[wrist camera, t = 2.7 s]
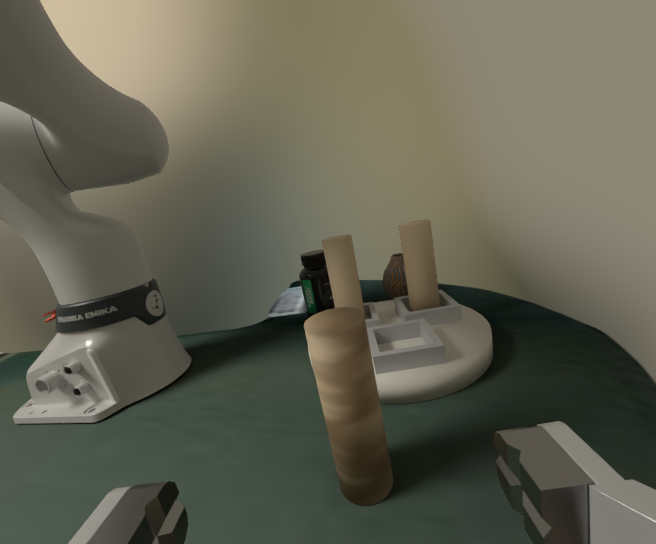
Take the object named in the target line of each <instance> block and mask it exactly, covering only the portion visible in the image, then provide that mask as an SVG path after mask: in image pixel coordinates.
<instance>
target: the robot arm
mask: <svg viewBox="0 0 656 544" xmlns="http://www.w3.org/2000/svg"><path fill="white" fill-rule="evenodd" d="M168 149H169V148H168V140H167V136H166V133H165V131H164V128H163V126H162V125H161V123H160V121H159V120H158V119H157V117H156V116H155V115H154V114H153V112H151V111H150V109H149V108H147V107H146V106H145V105H143V104H142V103H141V102H139V101H138V100H136V99H133V98H130V97H129V96H126V95H124V94H122V93H120V92H119V91H117V90H115V89H113V88H112V87H110V86H108V85H107V84H106V83H104V82H103V81H102V80H100V79H99V78H98V77H96V76H95V75H94V74H93V73H92V72H91V71H89V70H88V69H87V68H86V67H85V66H84V65H83V64H82V63H81V62H80V61H79V60H78V59H77V58H76V57H75V56H74V55H73V53H72V52H71V51H70V50H69V49H68V47H67V46H66V45H65V43H64V42H63V40H62V39H61V37H60V36H59V34H58V32H57V31H56V29H55V27H54V26H53V24H52V22H51V20H50V19H49V17H48V15H47V13H46V11H45V10H44V8H43V6H42V4H41V2H40V0H0V219H1V220H3V221H4V222H6V223H7V224H8V225H9V226H11V227H12V228H13V229H14V230H15V231H17V232H18V233H19V234H20V235H21V236H22V237H23V238H24V239H25V241H26V242H27V243H28V244H29V245H30V247H31V248H32V250H33V251H34V253H35V254H36V256H37V258H38V260H39V261H40V264H41V265H42V267H43V269H44V271H45V273H46V275H47V277H48V279H49V281H50V284H51V286H52V288H53V290H54V293H55V295H56V297H57V300H58V302H59V304H58V305H57V307H56V310H53V311H51V312H48V313H46V314H43V315H42V316H47V315H50V314H52V315H53V316H52V317H50V318H48V319H47V320H45V322H49V321H51V320H54V319H56V332H58V333H57V335H56V336H55V337H54V338H53V340H52V341H51V342H50V343H49V345H48V346H47V347H46V349H45V350H44V351H43V352H42V354H41V355H40V356H39V357H38V358H37V360H36V361H35V362H34V363H33V364H32V365H31V367H30V368H29V370H28V372H27V384H28V388H29V391H30V394H31V396H32V399H31V400H29V401H28V402H27V403H26V404H24V405H23V406H22V407H21V408H20V409H19V410H18V411H17V412H16V413H15V415H14V416H13V419H14V423H16V424H31V423H93V422H97V421H100V420H102V419H104V418H106V417H108V416H110V415H111V414H113V413H115V412H116V411H118V410H120V409H121V408H123V407H125V406H127V405H129V404H131V403H133V402H135V401H138V400H140V399H142V398H145V397H147V396H149V395H151V394H153V393H155V392H157V391H158V390H160V389H162V388H164V387H165V386H167V385H168V384H170V383H171V382H173V381H174V380H176V379H177V378H178V377H179V376H181V375H182V374H183V373H184V372H185V371H186V370H187V368H188V367H189V366H190V364H191V357H190V356H189V354H188V353H187V352H186V351H185V349H184V348H183V346H182V345H181V343H180V342H179V340H178V338H177V336H176V335H175V333H174V331H173V329H172V327H171V325H170V323H169V321H168V318H167V316H166V312H165V306H164V302H163V298H162V296H161V293H160V290H159V287H158V285H157V282H156V280H155V279H153V278H152V277H151V274H150V271H149V268H148V265H147V262H146V259H145V256H144V253H143V250H142V247H141V244H140V241H139V238H138V235H137V234H136V232H135V231H134V230H133V229H132V228H131V227H130V226H128V225H127V224H125V223H124V222H121V221H118V220H116V219H112V218H108V217H105V216H101V215H95V214H91V213H86V212H82V211H80V210H79V209H78V208H77V207H76V206H75V204H74V203H73V201H72V199H71V197H70V193H71V192H74V191H78V190H85V189H92V188H99V187H107V186H115V185H122V184H129V183H131V182H135V181H138V180H141V179H145V178H147V177H150V176H153V175H156V174H159V173H161V171H162V170H163V168H164V166H165V164H166V162H167V158H168V151H169V150H168ZM493 438H494V446H495V448H496V449H497V451H498V452H499V454H500V456H499V457H498V459H497V460H496V467H497V474H498V477H499V480H500V483H501V487H502V489H503V491H504V493H505V495H506V497H507V499H508V501H509V503H510V504H511V506H512V508H513V509H514V510H516V511H517V512H519V513H520V514H521V515H523V516H524V526H525V530H526V532H527V534H528V535H529V537H530V539H531V540H532V542H533V544H656V490H655V489H652V488H650V487H648V486H646V485H644V484H642V483H640V482H637V481H635V480H624V479H623V478H622V477H621V476H620V475H619V474H618V473H617V472H616V471H615V470H614V469H613V468H612V467H611V466H610V465H608V464H607V463H606V462H605V461H604V460H603V459H602V458H601V457H600V456H599V455H598V454H597V453H596V452H595V451H594V450H593V449H591V448H590V447H589V446H588V445H587V444H586V443H585V442H584V441H583V440H582V439H581V438H580V437H579V436H578V435H577V434H576V433H574V432H573V431H572V430H571V429H570V428H569V427H568V426H567V425H566V424H565V423H563V422H560V421H556V422H550V423H544V424H538V425H537V426H536V425H534V426H528V427H521V428H515V429H509V430H503V431H497V432H494V437H493ZM178 494H179V491H178V489H177V486H176V484H175V482H170V481H168V482H159V483H151V484H143V485H135V486H131V487H122V488H116V489H114V490H112V491H111V492H109V493H108V494H107V495H106V497H105V498H104V499H103V500H102V502H101V503H100V504H99V505H98V507H97V508H96V509H95V511H94V512H93V513H92V514H91V516H90V517H89V518H88V519H87V521H86V522H85V523H84V524H83V526H82V527H81V528H80V529H79V531H78V532H77V533H76V534H75V536H74V537H73V538H72V540H71V541H70V542H69V543H68V544H184V542H185V539H186V533H187V528H188V518H187V512H186V510H185V507H184V506H183V505H182V504H180V503H179V502H178V501H176V499H177V497H178Z"/></svg>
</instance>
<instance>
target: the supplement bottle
mask: <svg viewBox="0 0 656 544" xmlns="http://www.w3.org/2000/svg"><path fill="white" fill-rule="evenodd" d="M301 261H302V265H303V266H304V268H303V269H302V270H301V272H300V274H299V277H300V282H301V287H302V291H303V296H304V300H305V305H306V309H307V313H308V316H309V318H310V317H311V316H313V315H315V314H317V313H319V312H322V311H325V310H328V309H334V308H335V305H334V300H333V295H332V290H331V285H330V280H329V275H328V270H327V265H326V260H325V255H324V250H316V251H311V252H307V253H304V254H302V255H301Z"/></svg>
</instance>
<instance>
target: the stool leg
mask: <svg viewBox="0 0 656 544" xmlns="http://www.w3.org/2000/svg"><path fill="white" fill-rule="evenodd" d="M304 329H305V334H306V338H307V342H308V347H309V351H310V356H311V360H312V364H313V369H314V373H315V378H316V382H317V386H318V391H319V395H320V400H321V404H322V408H323V413H324V417H325V422H326V426H327V431H328V435H329V439H330V444H331V448H332V453H333V457H334V461H335V466H336V470H337V475H338V479H339V483H340V488H341V491H342V493H343V495H344V496H345V497H346V498H347V499H348V500H349V501H350V502H352V503H354V504H357V505H361V506H370V505H374V504H377V503H379V502H381V501H382V500H384V499H385V498H386V497H387V496H388V494H389V493H390V491H391V489H392V486H393V474H392V468H391V463H390V457H389V451H388V446H387V440H386V434H385V429H384V423H383V417H382V412H381V406H380V401H379V395H378V389H377V384H376V378H375V372H374V367H373V361H372V355H371V350H370V344H369V339H368V333H367V327H366V322H365V316H364V313H363V311H361V310H359V309H357V308H350V307H343V308H334V309H329V310H325V311H322V312H319V313H317V314H315V315H313V316H311V317H310V318H308V319H307V320H306V321H305V323H304Z"/></svg>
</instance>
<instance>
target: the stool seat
mask: <svg viewBox="0 0 656 544" xmlns="http://www.w3.org/2000/svg"><path fill="white" fill-rule="evenodd" d="M399 231H400V238H401V245H402V252H403V259H404V267H405V274H406V281H407V288H408V296H402V297H396V298H394V300H388V301H381V302H376V303H373V302H368V303H363V300H362V294H361V288H360V283H359V277H358V272H357V266H356V260H355V255H354V249H353V244H352V237H351V235H341V236H335V237H331V238H327V239H324V240H322V245H323V250H324V255H325V260H326V265H327V270H328V275H329V280H330V285H331V290H332V295H333V300H334V305H335V308H343V307H350V308H357V309H359V310H361V311H363V313H364V316H365V322H366V327H367V333H368V339H369V344H370V350H371V355H372V361H373V367H374V372H375V378H376V384H377V389H378V395H379V401H380V404H408V403H417V402H423V401H428V400H433V399H437V398H440V397H443V396H447V395H450V394H452V393H454V392H457V391H459V390H462V389H463V388H465V387H467V386H469V385H470V384H472V383H473V382H475V381H476V380H477V379H479V378H480V377H481V376H482V375H483V374H484V373H485V372H486V371H487V369H488V368H489V366H490V364H491V362H492V358H493V342H492V330H491V327H490V324H489V323H488V321H487V320H486V319H485V318H484V317H483V316H482V315H481V314H479V313H478V312H476V311H475V310H473V309H470V308H468V307H466V306H463V305H460V304H458V303H457V302H456V301H455V300H453V299H452V298H451V297H450V296H449V295H447V294H446V293H445V292H444V291H443V290H438V283H437V274H436V267H435V257H434V249H433V240H432V232H431V224H430V220H421V221H414V222H408V223H404V224H401V225H399ZM328 310H329V309H328ZM308 352H309V356H310V351H309V347H308ZM310 360H311V356H310ZM311 365H312V369H313V364H312V360H311ZM313 373H314V369H313ZM314 374H315V373H314Z"/></svg>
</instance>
